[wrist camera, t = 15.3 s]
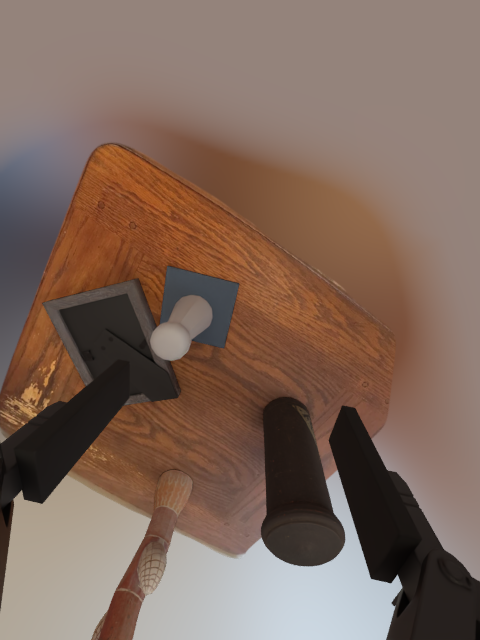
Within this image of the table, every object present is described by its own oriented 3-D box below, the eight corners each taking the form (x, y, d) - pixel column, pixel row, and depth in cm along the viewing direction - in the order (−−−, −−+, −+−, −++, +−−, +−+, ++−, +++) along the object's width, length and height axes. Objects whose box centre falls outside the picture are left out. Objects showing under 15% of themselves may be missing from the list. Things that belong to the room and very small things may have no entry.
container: (297, 440, 46) (322, 584, 27) (253, 423, 45) (249, 558, 27) (320, 407, 43) (366, 542, 24) (273, 388, 42) (284, 511, 24)
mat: (239, 283, 37) (239, 284, 36) (224, 347, 41) (223, 348, 40) (168, 265, 37) (167, 266, 36) (160, 331, 40) (158, 332, 40)
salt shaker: (196, 283, 37) (165, 309, 24) (223, 311, 38) (205, 348, 26) (171, 308, 38) (129, 343, 26) (197, 333, 39) (168, 379, 27)
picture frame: (181, 391, 44) (138, 278, 38) (177, 398, 42) (131, 280, 36) (103, 404, 47) (50, 300, 40) (96, 411, 45) (39, 303, 38)
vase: (184, 465, 50) (89, 759, 22) (201, 488, 52) (133, 786, 24) (143, 477, 53) (9, 759, 24) (161, 500, 55) (55, 784, 26)
